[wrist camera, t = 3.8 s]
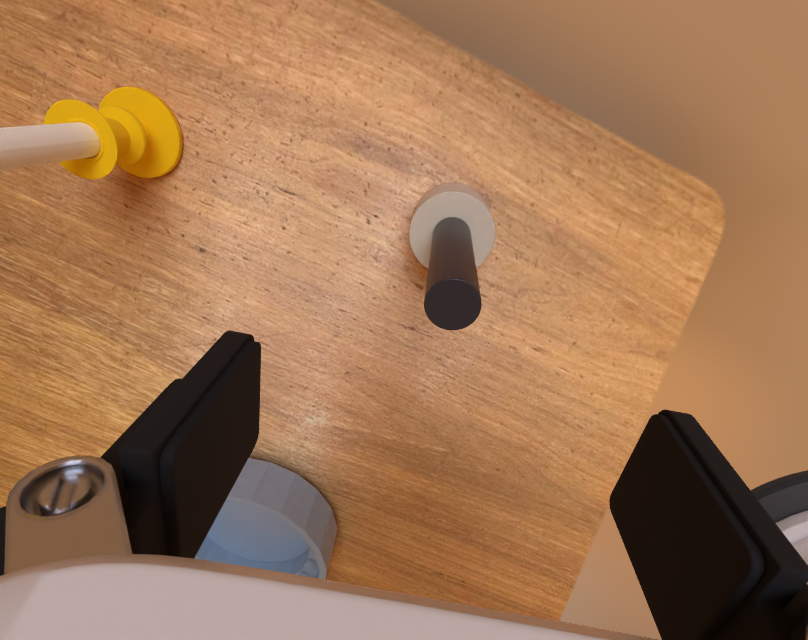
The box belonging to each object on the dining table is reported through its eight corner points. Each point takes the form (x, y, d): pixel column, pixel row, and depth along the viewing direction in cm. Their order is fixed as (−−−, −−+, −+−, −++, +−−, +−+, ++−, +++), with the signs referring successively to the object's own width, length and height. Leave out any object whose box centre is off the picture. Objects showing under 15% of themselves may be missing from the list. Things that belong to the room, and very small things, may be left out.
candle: (124, 66, 27) (-225, 31, 13) (198, 131, 28) (-48, 162, 14) (88, 136, 29) (-250, 170, 15) (159, 194, 30) (-93, 275, 16)
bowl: (347, 468, 39) (333, 516, 35) (331, 580, 46) (318, 632, 41) (173, 435, 39) (138, 479, 35) (183, 552, 46) (154, 601, 42)
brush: (499, 190, 28) (535, 255, 16) (480, 266, 30) (500, 371, 19) (419, 176, 28) (399, 230, 17) (406, 253, 30) (380, 348, 19)
